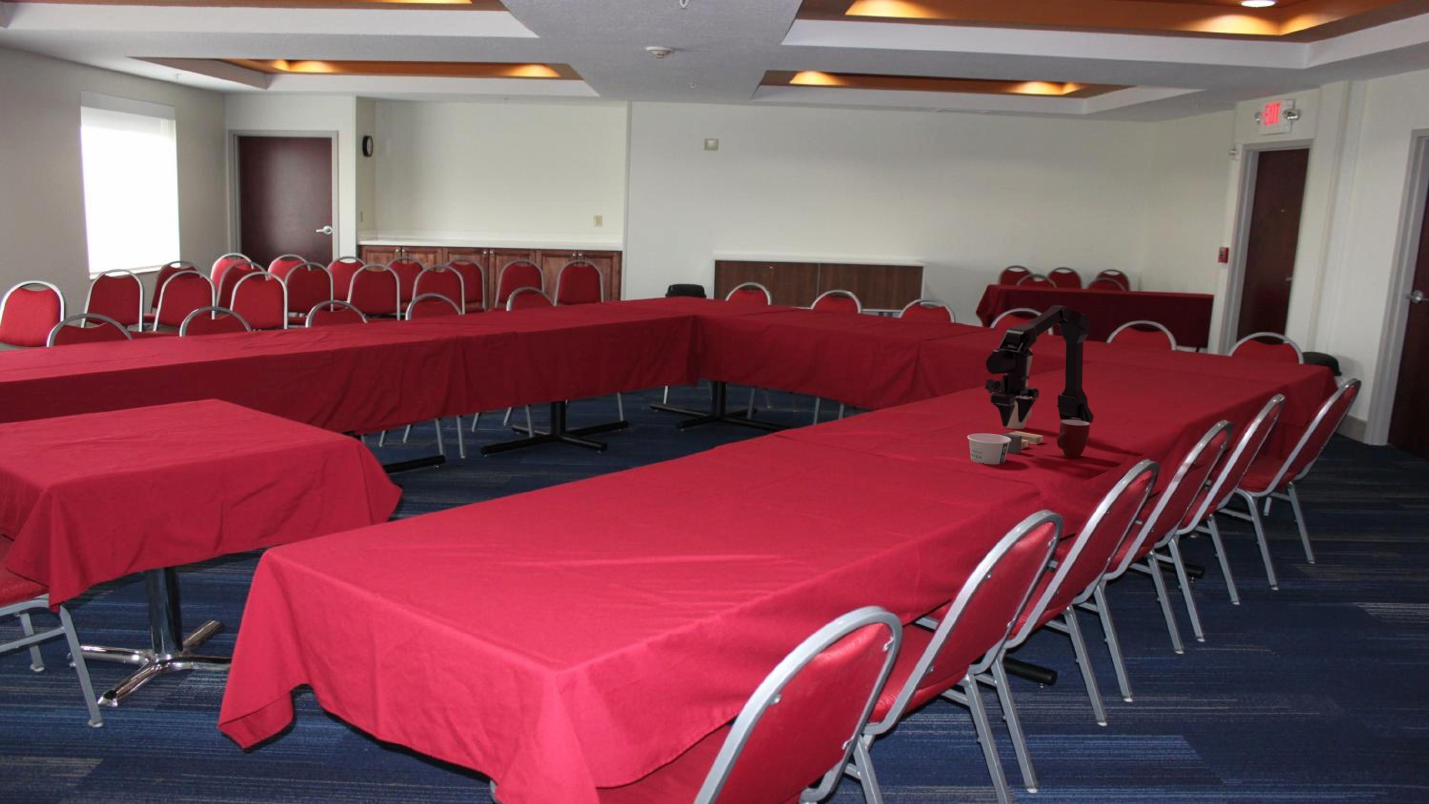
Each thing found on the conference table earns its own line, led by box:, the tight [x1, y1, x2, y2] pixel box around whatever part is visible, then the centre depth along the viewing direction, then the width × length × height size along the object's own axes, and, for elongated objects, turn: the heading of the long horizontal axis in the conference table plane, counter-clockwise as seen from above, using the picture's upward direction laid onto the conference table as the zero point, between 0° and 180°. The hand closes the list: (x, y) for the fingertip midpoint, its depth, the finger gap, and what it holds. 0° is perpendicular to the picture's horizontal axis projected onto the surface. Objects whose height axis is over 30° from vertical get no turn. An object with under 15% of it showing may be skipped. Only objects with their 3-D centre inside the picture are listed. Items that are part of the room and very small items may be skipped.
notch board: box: [1009, 430, 1044, 450], centre depth 324 cm, size 14×9×2 cm, turn 136°
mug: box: [1056, 419, 1091, 459], centre depth 306 cm, size 10×8×10 cm
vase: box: [1005, 347, 1033, 430], centre depth 344 cm, size 9×8×30 cm
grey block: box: [1001, 432, 1022, 455], centre depth 312 cm, size 3×5×5 cm, turn 47°
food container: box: [967, 433, 1011, 465], centre depth 301 cm, size 12×12×7 cm
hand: (1012, 424), depth 311 cm, fingers open, 9 cm apart
